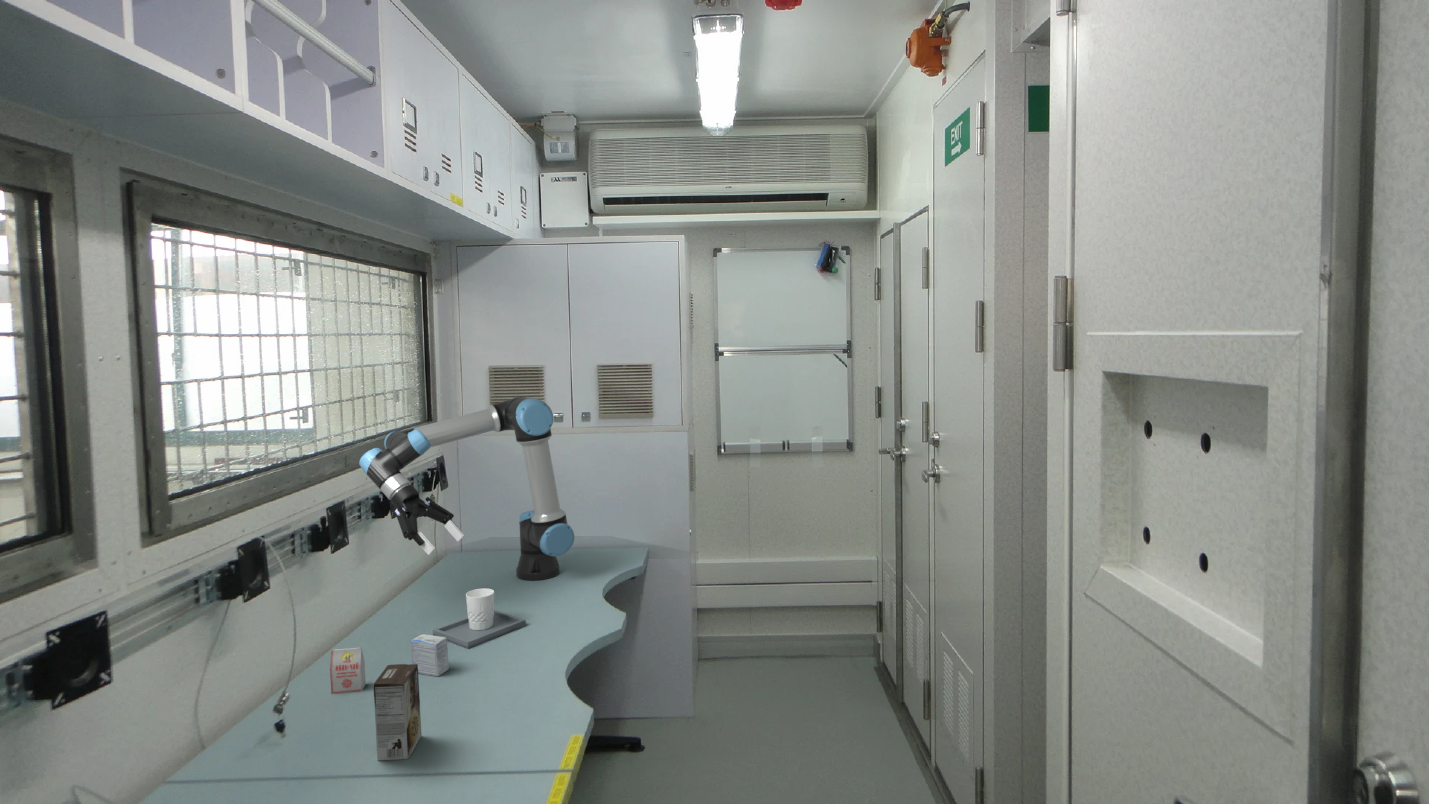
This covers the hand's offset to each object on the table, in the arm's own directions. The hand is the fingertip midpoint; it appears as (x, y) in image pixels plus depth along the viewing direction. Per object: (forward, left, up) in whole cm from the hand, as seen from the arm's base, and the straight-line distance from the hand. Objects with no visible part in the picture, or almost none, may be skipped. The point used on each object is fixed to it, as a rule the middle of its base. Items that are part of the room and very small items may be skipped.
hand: (447, 545), depth 221 cm
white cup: (-4, +10, -24) cm, 26 cm away
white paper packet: (+39, +15, -24) cm, 48 cm away
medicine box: (+22, +23, -24) cm, 40 cm away
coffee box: (+47, +50, -24) cm, 73 cm away
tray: (-2, +11, -24) cm, 27 cm away
